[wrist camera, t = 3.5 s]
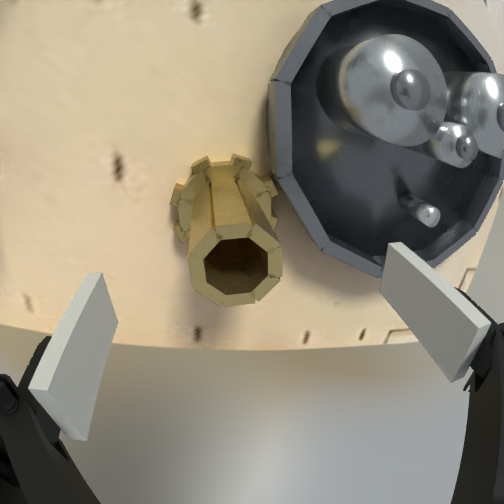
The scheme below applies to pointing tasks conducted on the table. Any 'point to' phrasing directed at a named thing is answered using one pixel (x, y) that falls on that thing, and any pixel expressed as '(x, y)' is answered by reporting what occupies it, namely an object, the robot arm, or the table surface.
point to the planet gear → (229, 231)
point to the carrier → (386, 130)
